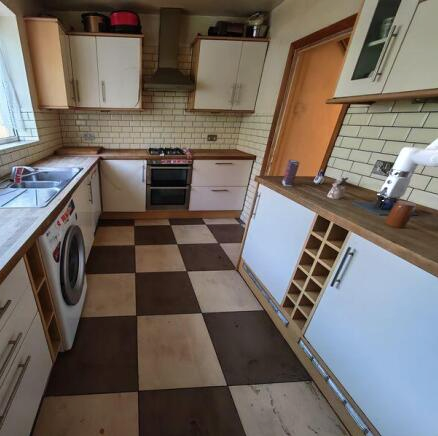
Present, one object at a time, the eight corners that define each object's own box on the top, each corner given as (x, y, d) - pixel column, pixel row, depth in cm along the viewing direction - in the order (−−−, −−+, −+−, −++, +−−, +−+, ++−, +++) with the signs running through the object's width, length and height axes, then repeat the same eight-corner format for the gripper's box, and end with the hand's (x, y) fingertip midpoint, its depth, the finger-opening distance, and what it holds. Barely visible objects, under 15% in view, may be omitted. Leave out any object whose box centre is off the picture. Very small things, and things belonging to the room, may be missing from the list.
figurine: (325, 194, 136) (333, 174, 131) (339, 196, 134) (347, 176, 129) (329, 198, 130) (337, 177, 125) (344, 200, 128) (353, 179, 123)
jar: (393, 221, 103) (405, 200, 99) (408, 228, 98) (422, 206, 93) (380, 221, 103) (391, 200, 99) (395, 228, 97) (407, 205, 93)
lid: (389, 207, 112) (391, 204, 111) (373, 202, 118) (374, 199, 117) (397, 205, 115) (398, 202, 114) (380, 201, 120) (382, 198, 119)
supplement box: (292, 186, 148) (300, 162, 142) (284, 185, 150) (291, 161, 143) (289, 183, 156) (296, 159, 149) (281, 182, 157) (288, 159, 150)
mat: (385, 203, 125) (386, 202, 125) (417, 215, 111) (418, 214, 110) (351, 203, 124) (351, 202, 124) (379, 215, 110) (379, 214, 109)
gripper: (396, 176, 104) (378, 211, 112) (424, 175, 108) (404, 209, 115) (378, 172, 111) (362, 206, 118) (404, 171, 114) (387, 204, 122)
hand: (383, 207), depth 117 cm, fingers closed on lid, 6 cm apart
